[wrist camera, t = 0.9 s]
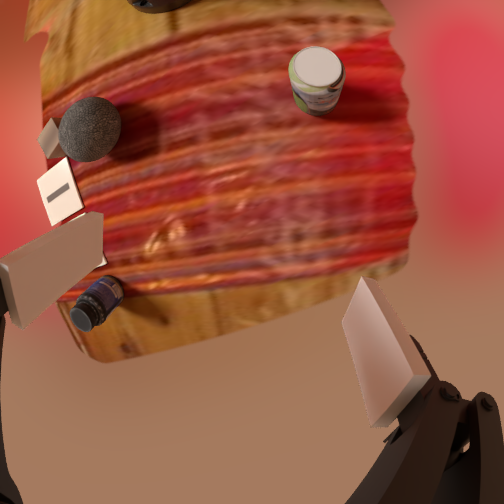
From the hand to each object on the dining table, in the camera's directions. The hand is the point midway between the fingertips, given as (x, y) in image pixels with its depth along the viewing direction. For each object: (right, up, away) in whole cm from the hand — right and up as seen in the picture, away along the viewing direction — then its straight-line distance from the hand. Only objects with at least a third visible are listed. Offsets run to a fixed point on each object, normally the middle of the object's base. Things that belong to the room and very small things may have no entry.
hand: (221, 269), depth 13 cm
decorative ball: (-22, +21, +24) cm, 39 cm away
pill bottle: (-25, -6, +34) cm, 43 cm away
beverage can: (+10, +23, +21) cm, 32 cm away
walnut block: (-31, +21, +25) cm, 45 cm away
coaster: (-34, +12, +28) cm, 46 cm away
